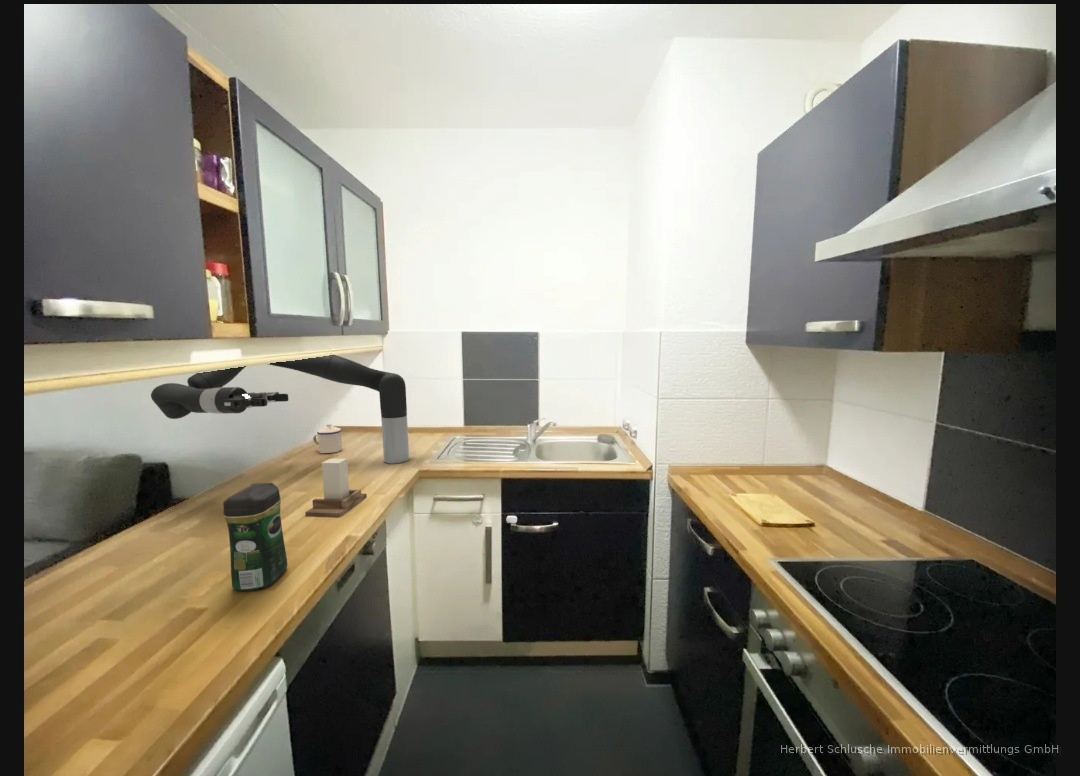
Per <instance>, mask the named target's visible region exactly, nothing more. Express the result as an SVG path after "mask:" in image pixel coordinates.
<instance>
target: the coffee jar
mask: <svg viewBox="0 0 1080 776" xmlns="http://www.w3.org/2000/svg"><path fill="white" fill-rule="evenodd" d="M222 506H223V517H224V521H225V522H226V525H227V529H228V539H229V541H228V542H229V555H230V576H231V579H230V580H231V587H232V588H233V589H234V590H237V591H241V592H252V591H253V590H254V591H256V590H259V589H264V588H267V587H268V586H270V585H272V584H273V583H274V582H276V581H277V580H278V579H279V578H280V577H281V576H282V574H283V573H284V572H285V571H286V570H287V567H288V558H287V551H286V545H285V539H284V532H283V526H282V518H281V517H282V516H281V495H280V490H279V487H278V486H277V485H276V484H274V483H273V482H262V483H261V482H258V483H257V482H255V483H252V484H251V485H248V486H247V487H245V488H243V489H241V490H239V491H238V492H237V491H236V493H234V494H233V495H231V496H229V497H227V498H226V499H224V501H223V504H222Z"/></svg>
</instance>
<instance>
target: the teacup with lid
mask: <svg viewBox="0 0 1080 776" xmlns="http://www.w3.org/2000/svg"><path fill="white" fill-rule="evenodd" d="M317 439H318V441H317ZM312 442H313V443H314V444H315V445H316V446H318V452H319V454H321V453H332V452H337V453H339V452H338V451H340V450H341V451H343V441H342V428H340V427H336V426H335V425H333V424H332V423H326V426H323V427H322V428H320V429H318V430H317V432H316V434H314V435H313V437H312ZM341 451H340V452H341ZM332 454H333V453H332Z"/></svg>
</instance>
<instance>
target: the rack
mask: <svg viewBox="0 0 1080 776" xmlns="http://www.w3.org/2000/svg"><path fill="white" fill-rule="evenodd" d="M367 494H368V493H362V490H361V489H349V496H348V497H346V498H345V499H324V498H314V499H312V501H311V502H312V507H311V508H310V509H308V510H306V511H304V513H305V517H306V516H307V517H327V518H329V517H331V518H341V516H343V515H344V514H346V513H347V512H349V511H350V510H351V509H352V508H354V507H355V506H356V505H359V503H361V502H362V501H363V500H365V499H366V498H367V497H368V496H367Z"/></svg>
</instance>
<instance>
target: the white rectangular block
mask: <svg viewBox="0 0 1080 776" xmlns="http://www.w3.org/2000/svg"><path fill="white" fill-rule="evenodd" d="M348 469H349V468H348V458H329V459H327V460H324V461H322V462H321V474H322V485H323V499H345V498H346V497H348V496H349V490H350V485H349V484H350V483H349V482H350V481H349V470H348Z"/></svg>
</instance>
